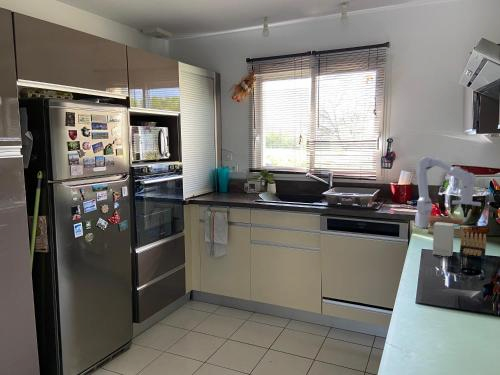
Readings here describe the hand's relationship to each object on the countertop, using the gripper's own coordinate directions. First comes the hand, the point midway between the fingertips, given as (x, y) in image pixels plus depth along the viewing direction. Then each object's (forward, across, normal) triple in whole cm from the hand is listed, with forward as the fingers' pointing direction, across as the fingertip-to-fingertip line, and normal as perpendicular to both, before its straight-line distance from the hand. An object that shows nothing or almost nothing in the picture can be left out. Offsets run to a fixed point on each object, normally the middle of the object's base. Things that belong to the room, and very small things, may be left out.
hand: (465, 217), depth 230 cm
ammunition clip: (+11, +1, -47) cm, 49 cm away
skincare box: (+11, -12, -51) cm, 54 cm away
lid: (+3, -10, 0) cm, 11 cm away
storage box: (+10, -10, -1) cm, 14 cm away
